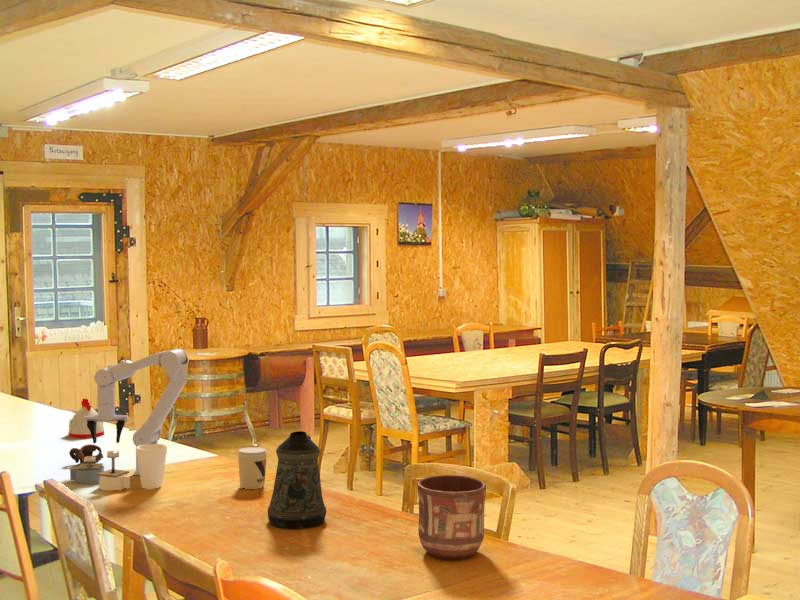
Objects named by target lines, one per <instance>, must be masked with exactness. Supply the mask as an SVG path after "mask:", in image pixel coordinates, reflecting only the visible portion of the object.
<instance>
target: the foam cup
mask: <svg viewBox="0 0 800 600" xmlns="http://www.w3.org/2000/svg"><path fill="white" fill-rule="evenodd" d="M167 452H168V448H167V445H166V444H163V443H157V444H146V445H140V446H137V447H136V446H135V456H136V455H137V459H138V466H139V473H140V475H139V479H140V486H141V488H142V489H143V488H146V489H145V490H156V489H155V488H158V489H160V488H159V487H161V486H162V487H163V481H164V473H165V470H164V467H166V464H165V463H166V457H167ZM162 487H161V488H162ZM153 488H154V489H153Z"/></svg>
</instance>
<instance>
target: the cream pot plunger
mask: <svg viewBox="0 0 800 600" xmlns="http://www.w3.org/2000/svg"><path fill="white" fill-rule="evenodd" d="M106 456H107V457H106V458H108V459H111V469H112V473H115V469H116V467H115V466H116V465H115V464H116V463H115V459H116V458H119V457H120V451H119V450H109V451H107V452H106Z"/></svg>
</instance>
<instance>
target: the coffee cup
mask: <svg viewBox="0 0 800 600" xmlns="http://www.w3.org/2000/svg"><path fill="white" fill-rule="evenodd" d="M267 454H268V451H267V449H266V448H264V447H257V446H256V447H255V446H251V447H250V446H249V447H243V448H240V449H239V450H238V452H237V456H238V457H237V458H238V473H239V474H238V476H239V487H240V489H242V488H245V489H244V490H247V489H255V490H259V489H258V488H261V489H263V488H265V483H266V470H267V469H266V467H267ZM262 487H263V488H262Z"/></svg>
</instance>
